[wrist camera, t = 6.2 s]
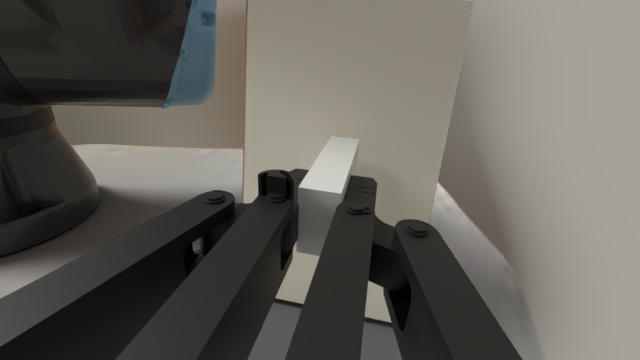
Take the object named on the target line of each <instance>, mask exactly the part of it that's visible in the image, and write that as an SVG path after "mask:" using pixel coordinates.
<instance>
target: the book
mask: <svg viewBox="0 0 640 360" xmlns="http://www.w3.org/2000/svg"><path fill="white" fill-rule="evenodd" d="M473 6H474V1H463V0H246V43H245V97H244V147H243V198H242V203H252V202H253V201H254V200H255V199H256V197H257V196H258V174H259V173H261V172H263V171H266V170H273V169H277V170H285V171H292V170H294V169H296V168H297V169H304V170H310V168H311V167H312V165H313V164H314V162H315V161H316V159H317V158H318V156H319V154H320V153H321V151H322V150H323V148H324V147H325V145H326V144H327V142H328V141H329V139H330V138H331V136H338V137H346V138H355V139H360V140H359V149H358V158H357V166H356V175H355V176H362V177H370V178H374V180H375V181H376V182H377V192H376V203H375V215H376V216H377V217H378V218H379V219H380V220H381V221H383V222H384V223H386V224H389V225H391V226H394V227H395V225H396V224H397V222H399V221H401V220H404V219H414V220H421V221H424V222H426V223H428V224H429V221H430V216H431V211H432V206H433V201H434V196H435V191H436V186H437V182H438V177H439V172H440V167H441V162H442V157H443V152H444V147H445V142H446V138H447V133H448V128H449V123H450V118H451V113H452V108H453V104H454V99H455V93H456V89H457V84H458V79H459V74H460V70H461V65H462V59H463V54H464V50H465V45H466V40H467V35H468V31H469V25H470V21H471V16H472V11H473ZM296 244H297V241H296V243H295V245H294V247H293V259H292V262H291V264H290V266H289V269H288V271H287V273H286V275H285V278H284V280H283V282H282V284H281V286H280V289H279V291H278V293H277V295H276V297H275V298H277V299H282V300H287V301H291V302H296V303H301V304H304V301H305V298H306V295H307V292H308V289H309V287H310V284H311V281H312V278H313V275H314V272H315V269H316V266H317V263H318V260H319V257H320V256H316V255H311V254H305V253H300V252H296ZM365 317H368V318H372V319H377V320H382V321H387V322H391V319H390V315H389V312H388V308H387V305H386V301H385V298H384V294H383V287H381V286H379V285H377V284H375V283H372V282H370V281H368V288H367V298H366V308H365ZM391 323H392V322H391Z"/></svg>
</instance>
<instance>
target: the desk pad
mask: <svg viewBox="0 0 640 360" xmlns="http://www.w3.org/2000/svg"><path fill="white" fill-rule="evenodd" d="M302 307H303V304H301V303H296V302H291V301H287V300H282V299H277V298H275V300H274V302H273V304H272V306H271V308H270V311H269V313H268V315H267V317H266V320H265V322H264V324H263V326H262V328H261V331H260V333H259V335H258V337H257V339H256V342H255V344H254V346H253V348H252V350H251V353H250V355H249V357H248V359H247V360H285V357H286V354H287V351H288V348H289V345H290V342H291V339H292V336H293V333H294V330H295V328H296V325H297V322H298V319H299V316H300V313H301V310H302ZM360 360H402V358H401V354H400V350H399V347H398V343H397V340H396V336H395V333H394V329H393V326H392V323H391V322H387V321H382V320H377V319H372V318H368V317H365V318H364V328H363V338H362V348H361V357H360Z"/></svg>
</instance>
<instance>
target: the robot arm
mask: <svg viewBox="0 0 640 360" xmlns="http://www.w3.org/2000/svg"><path fill="white" fill-rule="evenodd" d="M216 8H217V0H0V256H3V255H6V254H10V253H13V252H16V251H19V250H22V249H25V248H28V247H30V246H33V245H36V244H38V243H41V242H43V241H46V240H48V239H50V238H52V237H54V236H57V235H59V234H61V233H63V232H65V231H66V230H68V229H70V228H72V227H73V226H75V225H77V224H78V223H80V222H81V221H82V220H84V219H85V218H86V217H88V216H89V215H90V214H91V213H92V212H93V211H94V210H95V209H96V207H97V206H98V204H99V201H100V194H99V191H98V187H97V183H96V180H95V178H94V176H93V174H92V172H91V171H90V170H89V168H88V167H87V166H86V164H85V163H84V162H83V160H82V159H81V158H80V156H79V155H78V154H77V153H76V151H75V150H74V149H73V147H72V146H71V145H70V143H69V142H68V141H67V139H66V138H65V137H64V135H63V134H62V133H61V131H60V130H59V128H58V126H57V124H56V121H55V118H54V114H53V111H52V108H51V105H83V106H85V105H86V106H128V107H161V108H164V109H165V108H169V107H170V106H185V105H199V104H202V103H204V102H206V101H207V100H208V99H209V98H210V97H211V95H212V94H213V91H214V80H215V79H214V78H215V46H216V10H217V9H216ZM359 140H360V139H355V138H346V137H338V136H331V138H330V139H329V141H328V142H327V144H326V145H325V147H324V148H323V150H322V151H321V153H320V154H319V156H318V158H317V159H316V161H315V162H314V164H313V165H312V167H311V168H310V170H304V169H297V168H296V169H294V170H292V171H285V170H277V169H273V170H266V171H263V172H261V173H259V174H258V196H257V197H256V199H255V200H254V201H253V202H252V203H236V204H235V197H234V196H233V194H231V193H229V192H226V191H222V190H218V191H217V190H214V191H210V192H206V193H203V194H201V195H199V196H197V197H195V198H193V199H191V200H189V201H187V202H185V203H183V204H181V205H180V206H178V207H176V208H174V209H172V210H170V211H168V212H166V213H164V214H162V215H160V216H158V217H156V218H155V219H153V220H151V221H149V222H147V223H145V224H143V225H141V226H139V227H137V228H135V229H133V230H132V231H130V232H128V233H126V234H124V235H122V236H120V237H118V238H116V239H114V240H112V241H110V242H109V243H107V244H105V245H103V246H101V247H99V248H97V249H95V250H93V251H91V252H89V253H87V254H86V255H84V256H82V257H80V258H78V259H76V260H74V261H72V262H70V263H68V264H66V265H64V266H62V267H61V268H59V269H57V270H55V271H53V272H51V273H49V274H47V275H45V276H43V277H41V278H39V279H38V280H36V281H34V282H32V283H30V284H28V285H26V286H24V287H22V288H20V289H18V290H16V291H15V292H13V293H11V294H9V295H7V296H5V297H3V298H1V299H0V360H247V359H248V357H249V355H250V353H251V350H252V348H253V346H254V344H255V342H256V339H257V337H258V335H259V333H260V331H261V328H262V326H263V324H264V322H265V320H266V317H267V315H268V313H269V311H270V308H271V306H272V304H273V302H274V300H275V297H276V295H277V293H278V291H279V289H280V286H281V284H282V282H283V280H284V278H285V275H286V273H287V271H288V269H289V266H290V264H291V262H292V259H293V247H294V245H295V243H296V241H297V244H296V252H300V253H305V254H311V255H316V256H320V257H319V260H318V263H317V266H316V269H315V272H314V275H313V278H312V281H311V284H310V287H309V289H308V292H307V295H306V298H305V301H304V304H303V307H302V310H301V313H300V316H299V319H298V322H297V325H296V328H295V330H294V333H293V336H292V339H291V342H290V345H289V348H288V351H287V354H286V357H285V360H360V357H361V348H362V338H363V328H364V318H365V308H366V298H367V288H368V281H370V282H372V283H375V284H377V285H379V286H381V287H383V294H384V298H385V301H386V305H387V308H388V312H389V315H390V319H391V322H392V326H393V329H394V333H395V336H396V340H397V343H398V347H399V350H400V354H401V358H402V360H522V358H521V357H520V355H519V354H518V352H517V351H516V349H515V348H514V346H513V345H512V343H511V342H510V340H509V339H508V337H507V336H506V334H505V333H504V331H503V330H502V328H501V327H500V325H499V323H498V322H497V320H496V319H495V317H494V316H493V314H492V313H491V311H490V310H489V308H488V307H487V305H486V304H485V302H484V301H483V299H482V298H481V296H480V295H479V293H478V292H477V290H476V289H475V287H474V286H473V284H472V283H471V281H470V279H469V278H468V276H467V275H466V273H465V272H464V270H463V269H462V267H461V266H460V264H459V263H458V261H457V260H456V258H455V257H454V255H453V254H452V252H451V251H450V249H449V248H448V246H447V245H446V243H445V242H444V240H443V239H442V237H441V235H440V234H439V232H438V231H437V230H436V229H435V228H434V227H433V226H431V225H430V224H428V223H426V222H424V221H421V220H414V219H404V220H401V221H399V222H397V224H396V225H395V227H394V226H391V225H389V224H386V223H384V222H383V221H381V220H380V219H379V218H378V217H377V216H376V215H375V203H376V192H377V182H376V181H375V180H374V178H370V177H362V176H355V175H356V166H357V158H358V149H359ZM198 238H199V240H200V249H199V250H198V251H196V252H194V251H193V247H192V242H194V241H195V240H197V239H198Z"/></svg>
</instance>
